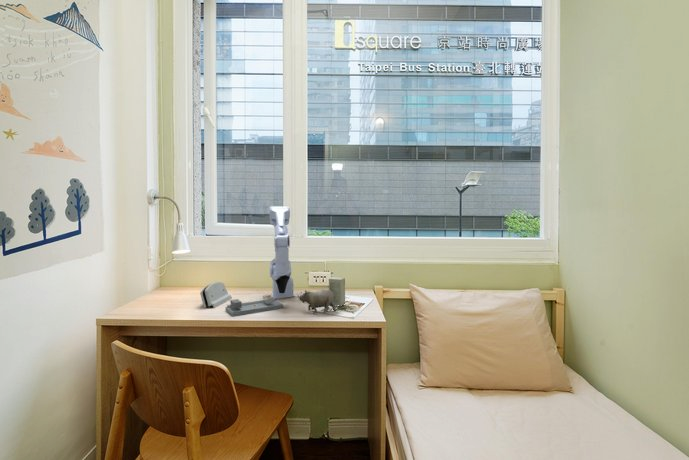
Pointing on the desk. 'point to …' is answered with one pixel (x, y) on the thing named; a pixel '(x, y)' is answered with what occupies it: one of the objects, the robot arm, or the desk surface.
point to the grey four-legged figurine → (318, 299)
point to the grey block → (268, 299)
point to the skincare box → (337, 290)
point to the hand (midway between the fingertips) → (282, 292)
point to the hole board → (250, 307)
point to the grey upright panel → (214, 295)
